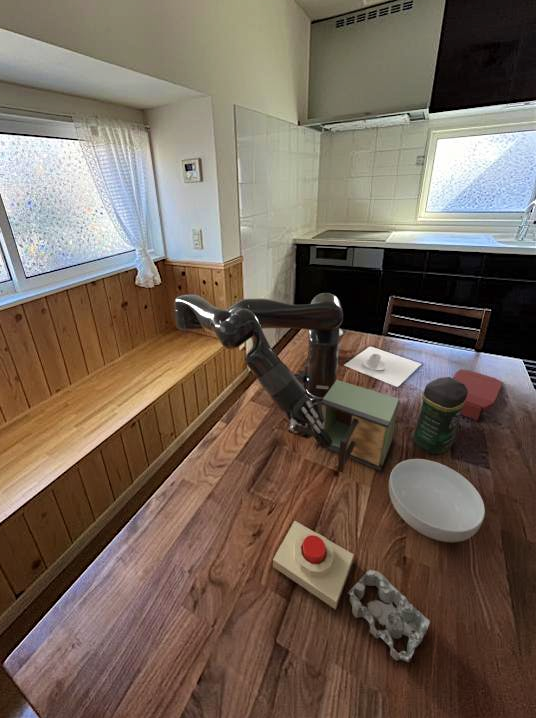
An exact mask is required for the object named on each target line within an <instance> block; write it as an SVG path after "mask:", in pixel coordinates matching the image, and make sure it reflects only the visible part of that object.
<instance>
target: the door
mask: <svg viewBox="0 0 536 718" xmlns="http://www.w3.org/2000/svg"><path fill="white" fill-rule="evenodd" d="M385 430H386V427H384V426H381V425H379V424H376V423H373V422H370V421H367V420H364V419H362V418H359V417H356V416H353V415H352V420H351V425H350V427H349V429H348V431H347V432H346V434H345V436H344V438H342V439H341V441H340V451H339V454H338V461H337V463H338V464H337V472H339V473H341V474H343V473H344V471H345V466H346V464H347V463H348V460H349V459H350V458H349V457H350V455H353V456H356V457H358V458H361V459H363V460H365V461H368V462H370V463H373V464H375V465H377V466H379V465H380V459H381V454H382V448H383V442H384V436H385ZM348 441H349V446H348V449H347V443H348ZM346 450H347V451H346Z"/></svg>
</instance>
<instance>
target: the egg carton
mask: <svg viewBox="0 0 536 718" xmlns="http://www.w3.org/2000/svg"><path fill="white" fill-rule="evenodd" d="M366 586H368V587H370V586H374V587H377V589H378V590H377V595H378V597H379V599H380V600H381V601H380V600H378V599H377V600H376V599H374V600H369V601H368V602H367V603H366V606H364V605H363V604H362V602H361V601H360V600H362V599H363V598H364V596H365V592H366ZM347 594H348V595H349V596H350V597H349V603H350V604H351V613H352V615H353V616H354V617H355V618H357V619H358V618H363V619H364V620H366V621H367V623H368V624H369V628H370V629H369V634H371V635H373V636H374V638H375V639H380V638H381V639H382V640H383V641H384V643H386V644H387V645H388V646H389V648H390V651H389V655H390V656H391V657H392V659H393V660H395V661H397V662H398V661H400V660H401V661H404V662H406V663H410V662H411V659H412V656H413V655H414V653H415V650H416V648H417V647H418V646H419V645H420V644H421V643H422V642H423V640H424V636H425V635H426V633H427V631H428V628H429V626H430V623H431V621H430V620H429V619H428V618H427V617H426V616H424V614H423V613H421V612H420V611H419V610H417V609H416V608H415V607H414V605H413V604H412V603H410V602H409V599H408V598H407V597H406V596H405V595H404V594H402V593H401V592H400V591H399V590H398V589H397V588H396V587H395V586H394V585H393V584H392V583H391V582H390V580H388V579H387V578H386V576H385V575H384V574H382V573H381V572H380V571H378V570H374V569H373V570H372V569H368V570H367V571H366V572H365V574H364V575H362V577H361V578H360V579H359V580H358V581H357V582H356V584H354V586H353V587H352V588H351V589H349V590H348V592H347ZM393 604H394V605H396V606H394V605H393ZM376 619H377V620H376ZM377 621H378V623H379V625H382V626H385V629H377V628H376V626H375V622H377ZM403 635H404V636H407V637H408V639H407V640H408V641H407V643H406V650H407V651H406V650H401V651H400V652H398V651H397V650H396V649H395V648H394V640H393V639H396V640H399V639H401V638H402V636H403Z"/></svg>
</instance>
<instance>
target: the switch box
mask: <svg viewBox="0 0 536 718" xmlns="http://www.w3.org/2000/svg"><path fill="white" fill-rule="evenodd" d="M310 535H315V536H318V537H319V538H321V539H322V540H323V542H324V544H325V547H326V551H325V558H324V560H323V561H322V562H321V563H318V564H314V563H311V562H309V561H308V560H307V559H306V558H305V557H304V555H303V541H304V539H305V538H306V537H307V536H310ZM354 556H355V554H353V553H352V552H350V551H348V550H347V549H345V548H343V547H341V546H339V545H338V544H336V543H335V542H333V541H331V540H329V539H328V538H327V537H325V536H323V535H322V534H320V533H318V532H316V531H314V530H312V529H310V528H308V526H307V527H306V526H305V525H304V524H302V523H301V522H300V523H299V522H298V521H296V520H294V521H293V522H292V524H291V526H290V528H289V530H288V532H287V533H286V535H285V537H284V539H283V541H282V543H280V546H279V548H278V549H277V551H276V553H275V555H274V557H273V559H272V568H274V569H276V570H277V571H279V572H280V573H282V574H283V575H284V576H285V577H287V578H289V579H290V580H292V581H293V582H295V583H296V584H298V585H299V586H300V587H302V588H303V589H305V590H306V591H308V592H309V593H311V594H312V595H314V596H315V597H317V598H318V599H320V600H321V601H322V602H324V603H325V604H326V605H328V606H329V607H331V608H332V609H334V610H337V607H338V604H339V602H340V599H341V597H342V594H343V590H344V587H345V586H346V582H347V581H348V577H349V574H350V571H351V569H352V565H353V563H354V558H355V557H354Z"/></svg>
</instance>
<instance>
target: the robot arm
mask: <svg viewBox="0 0 536 718" xmlns="http://www.w3.org/2000/svg"><path fill="white" fill-rule="evenodd" d="M173 303H174V304H173V305H174V317H175V325H176V328H177V329H179V330H182V331H202V330H204V331H207V332H208V333H210V334H212V335H214V336H216V338H217V341H219V343H220V344H221V346H222V347H223V348H224V349H227V350H230V351H231V350H236V349H238V348H240V347H241V346H242V345H243V344H245V343H247V341H249V340H250V339H251V341H252V342H251V343H252V347H251V348H250V350H249V351H248V352H247V353H246V354H245V356H244V360H243V361H244V363H245V364H246V366H247V367H248V368H249V370H250V371H251V372H252V374H253V375H254V376H255V378H256V379H257V380H258V383H259V384H260V385H261V387H262V388H263V389H264V391H265V393H266V394H267V395H268V396H269V398H270V399H271V400H272V401H273V403H274V404H275V405H276V406H277V408H278V409H279V410H280V411H283V412H284V413H285V414H286V417H287V419H288V421H289V423H290V426H289V427H288V428H287V431H288V433H289V434H292V435H295V436H298V437H300V438H302V439H303V438H304V439H306V440H307V439H310V438H312V437H313V438H314V439H315V441H316V442H317V444H318V443H319V444H320V446H319V447H321V448H324V449H326V448H327V447H330V445H331V444H332V440H331V438H330V436H329V435H328V434H327V432H326V431H325V430H324V429H323V425H322V424H323V422H324V421H325V420H324V416H323V412H322V404H320V403H321V401H322V400H323V398H324V397H325V395H326V394H327V393H328V391H329V390H330V389H331V387H332V386H333V384H334V383H335V382H336V380H337V374H338V364H339V363H338V362H339V351H340V340H341V338H340V337H339V329H340V326H341V325H342V323H343V321H344V311H343V308H342V304H341V301H340V299H339V298H338V297H337V296H336V295H335V294H332V293H330V292H322V293H319V294H317V295H315V296H314V297H313V299H312V300H311V302H310V303H308V304H307V303H306V304H290V303H286V302H281V301H278V300H274V299H269V298H243V299H241V300H239V301H238V302H236V303H234V304H233V305H231V306H230V307H229V308H226V309H223V308H219V307H216V306H214V305H213V304H211V302H209V301H208V300H206V299H205V298H204V297H202V296H200V295H198V294H183V295H179V296H177V297H176V298H175V300H174V302H173ZM263 329H265V330H266V329H297V330H299V329H300V330H308V340H307V341H308V343H307V344H308V345H307V363H306V364H305V365H304V368H303V370H301V371H299V372H298V373H293V371H291V369H290V368H289V367H288V366H287V365H286V363H284V362H283V360H281V358H280V357H279V356H278V355H277V353H276V352H275V351H274V349H273V348H272V347H271V345H270V344H269V342H268V340H267V337H266V336H265V333H264V331H263ZM302 384H303V385H302ZM306 393H307V394H306ZM310 397H311V398H310Z"/></svg>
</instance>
